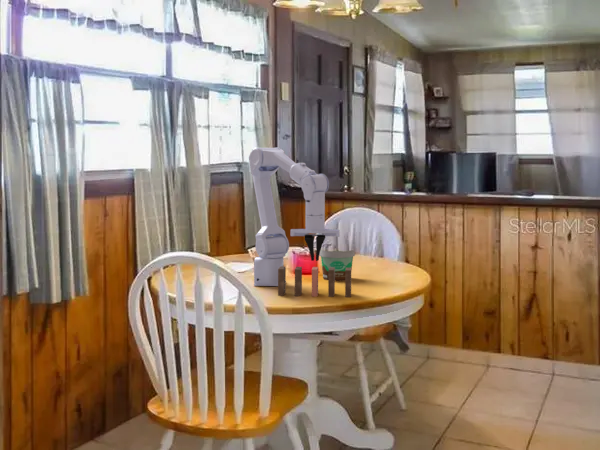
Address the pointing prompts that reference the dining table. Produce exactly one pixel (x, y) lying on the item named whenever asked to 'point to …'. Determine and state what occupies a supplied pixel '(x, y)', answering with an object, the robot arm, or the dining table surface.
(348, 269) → the domino
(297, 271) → the domino
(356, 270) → the dining table surface
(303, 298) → the dining table surface
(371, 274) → the dining table surface
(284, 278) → the domino
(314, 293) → the domino
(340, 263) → the food container
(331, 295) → the domino
